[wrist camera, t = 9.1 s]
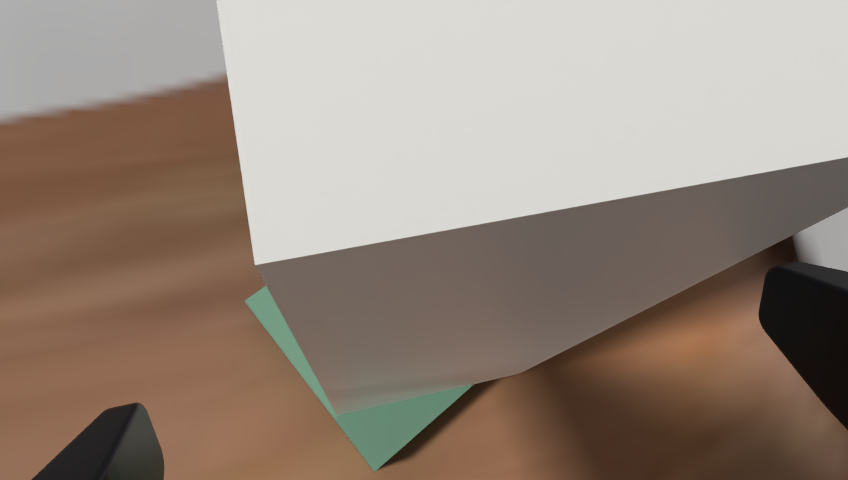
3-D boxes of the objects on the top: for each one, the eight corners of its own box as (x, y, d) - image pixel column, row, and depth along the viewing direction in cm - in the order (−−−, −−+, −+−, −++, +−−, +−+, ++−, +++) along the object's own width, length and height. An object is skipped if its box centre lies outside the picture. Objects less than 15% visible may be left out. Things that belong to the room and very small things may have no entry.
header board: (553, 312, 17) (587, 287, 14) (373, 470, 15) (376, 473, 12) (434, 177, 18) (445, 133, 15) (251, 309, 16) (231, 283, 13)
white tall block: (519, 373, 15) (1003, 128, 4) (336, 415, 14) (254, 264, 3) (473, 207, 16) (723, -333, 5) (305, 236, 16) (169, -324, 4)
